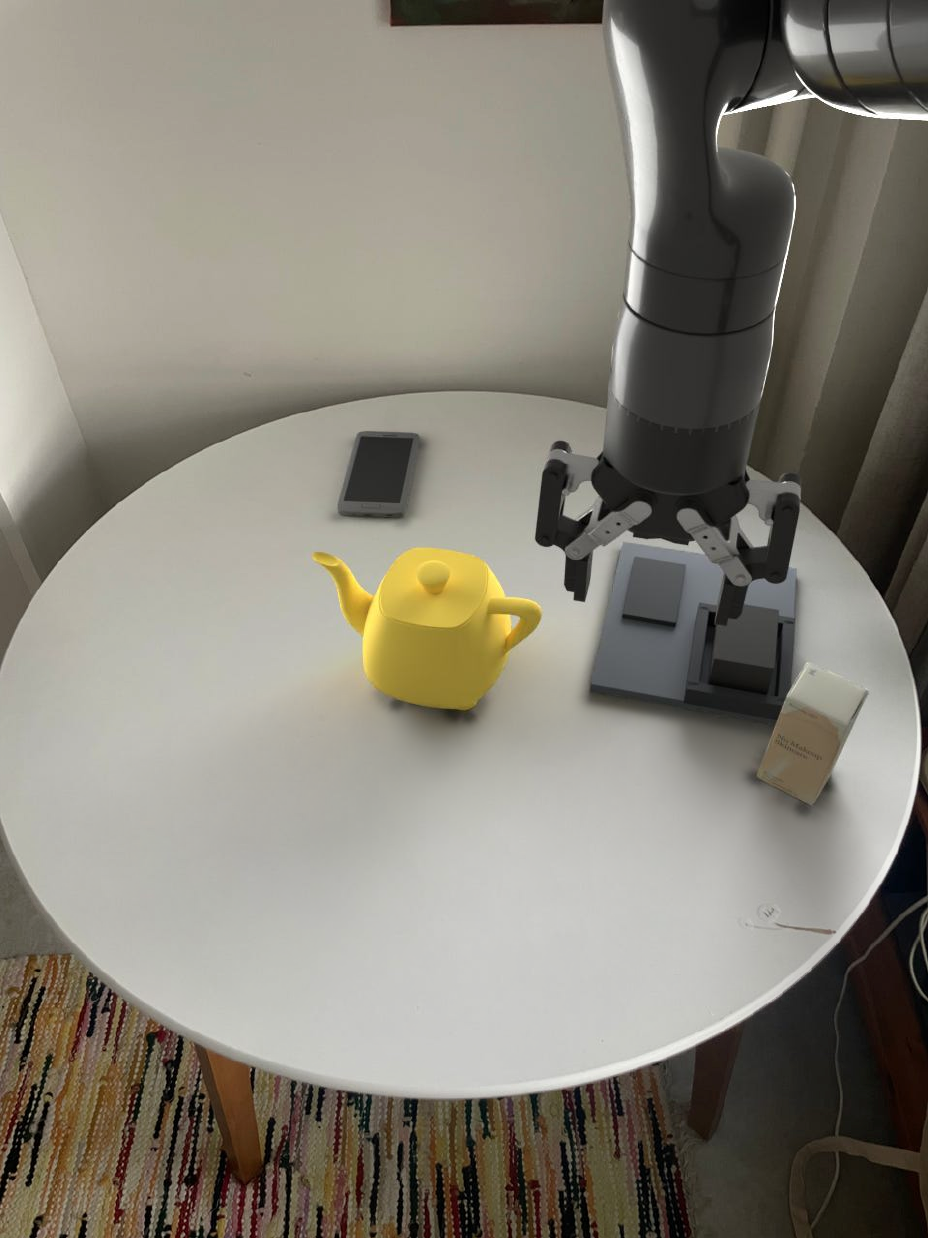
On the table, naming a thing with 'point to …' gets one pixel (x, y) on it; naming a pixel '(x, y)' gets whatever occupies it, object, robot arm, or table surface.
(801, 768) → the box
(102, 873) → the table surface
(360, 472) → the cell phone
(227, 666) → the table surface
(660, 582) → the base pad
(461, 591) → the teapot
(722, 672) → the black block
